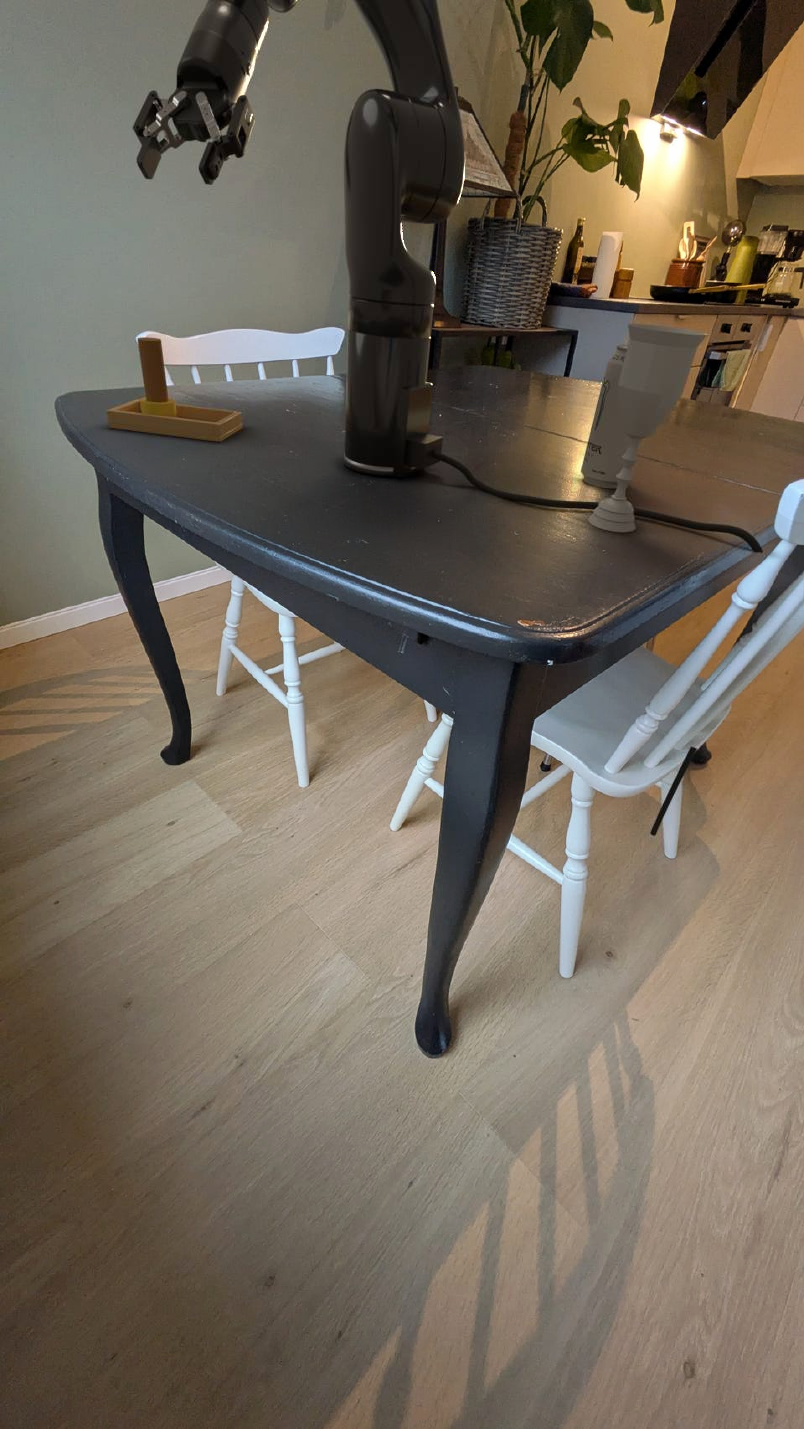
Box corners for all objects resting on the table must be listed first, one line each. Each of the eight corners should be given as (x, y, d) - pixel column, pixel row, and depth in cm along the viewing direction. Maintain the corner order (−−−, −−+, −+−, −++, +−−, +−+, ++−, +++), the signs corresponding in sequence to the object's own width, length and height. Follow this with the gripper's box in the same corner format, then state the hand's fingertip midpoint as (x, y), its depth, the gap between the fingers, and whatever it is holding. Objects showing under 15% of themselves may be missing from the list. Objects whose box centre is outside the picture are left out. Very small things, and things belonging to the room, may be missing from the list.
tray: (242, 428, 87) (241, 411, 86) (220, 442, 81) (218, 424, 80) (139, 415, 89) (137, 399, 87) (109, 427, 82) (106, 410, 81)
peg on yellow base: (144, 424, 82) (132, 341, 77) (141, 416, 86) (128, 335, 80) (179, 424, 84) (169, 342, 78) (174, 416, 87) (165, 337, 82)
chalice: (565, 513, 69) (611, 322, 59) (615, 510, 72) (668, 325, 61) (607, 538, 64) (665, 333, 53) (658, 533, 66) (725, 336, 56)
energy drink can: (576, 473, 83) (607, 342, 74) (621, 478, 83) (658, 347, 74) (582, 486, 78) (616, 348, 69) (630, 492, 78) (671, 354, 69)
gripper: (152, 26, 76) (104, 138, 74) (257, 28, 73) (210, 146, 71) (184, 97, 83) (141, 201, 81) (281, 101, 80) (239, 210, 78)
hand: (174, 175), depth 76 cm, fingers open, 8 cm apart
